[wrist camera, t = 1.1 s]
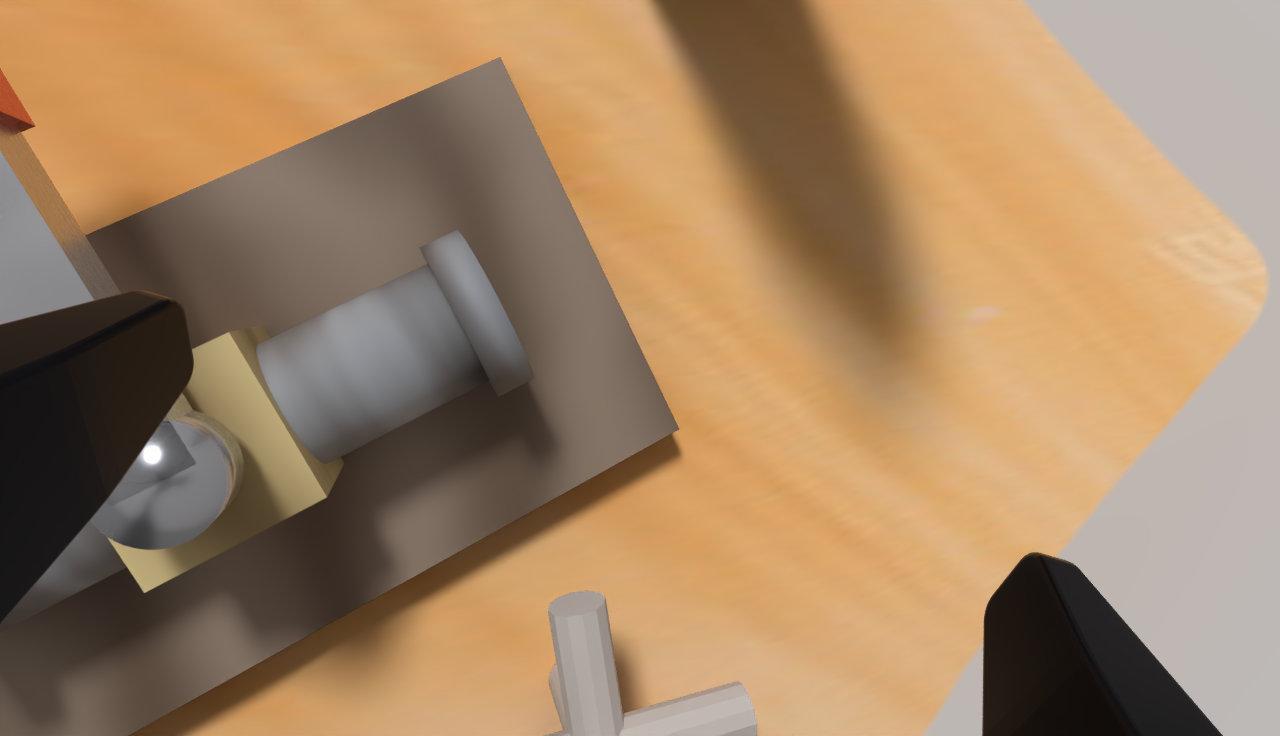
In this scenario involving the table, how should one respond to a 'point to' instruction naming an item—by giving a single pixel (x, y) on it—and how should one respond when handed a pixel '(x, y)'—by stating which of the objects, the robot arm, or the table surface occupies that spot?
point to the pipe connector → (589, 691)
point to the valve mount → (344, 397)
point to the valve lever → (73, 274)
